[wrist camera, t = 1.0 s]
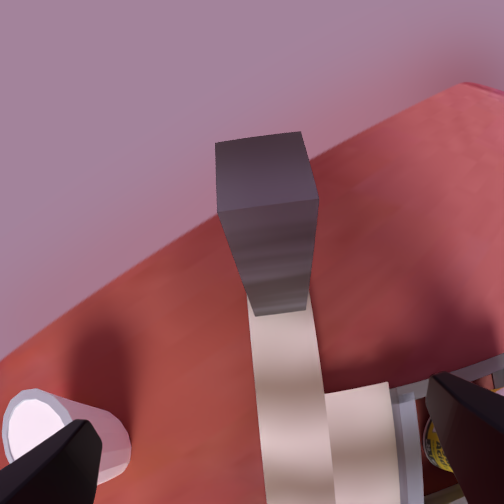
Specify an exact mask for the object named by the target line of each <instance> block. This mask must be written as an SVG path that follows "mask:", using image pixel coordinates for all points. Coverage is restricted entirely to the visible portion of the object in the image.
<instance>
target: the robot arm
mask: <svg viewBox="0 0 504 504" xmlns="http://www.w3.org/2000/svg"><path fill="white" fill-rule="evenodd" d="M426 406H427V409H428V412H429V414H430V417H431V420H432V422H433V425H434V428H435V430H436V433H437V436H438V439H439V442H440V444H441V447H442V450H443V452H444V454H445V456H446V458H447V460H448V462H449V464H450V466H451V469H452V471H453V473H454V475H455V477H456V479H457V481H458V483H459V485H460V487H461V490H462V492H463V494H464V496H465V498H466V500H467V503H468V504H504V396H502V395H500V394H498V393H495V392H493V391H490V390H488V389H486V388H483V387H481V386H479V385H476V384H474V383H472V382H469V381H467V380H465V379H463V378H460V377H458V376H456V375H453V374H451V373H449V372H446V371H441V372H439V373H436V374H433V375H431V376H430V378H429V382H428V388H427V393H426ZM101 454H102V440H101V438H100V437H99V435H98V433H97V432H96V430H95V428H94V427H93V425H92V424H91V422H90V421H89V420H86V419H75V420H73V421H72V422H70V423H69V424H67V425H66V426H65V427H63V428H62V429H60V430H59V431H57V432H56V433H55V434H53V435H52V436H50V437H49V438H47V439H46V440H44V441H43V442H42V443H40V444H39V445H37V446H36V447H34V448H33V449H31V450H30V451H28V452H27V453H25V454H24V455H22V456H21V457H19V458H18V459H16V460H15V461H14V462H12V463H11V464H9V465H8V466H6V467H5V468H3V469H1V470H0V504H93V502H94V498H95V494H96V488H97V482H98V474H99V467H100V460H101Z"/></svg>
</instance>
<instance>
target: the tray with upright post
mask: <svg viewBox="0 0 504 504" xmlns="http://www.w3.org/2000/svg"><path fill="white" fill-rule="evenodd" d="M215 155H216V189H217V213H218V216H219V219H220V221H221V224H222V227H223V230H224V233H225V235H226V238H227V241H228V244H229V247H230V249H231V252H232V255H233V258H234V260H235V263H236V266H237V269H238V272H239V274H240V277H241V280H242V283H243V285H244V288H245V291H246V294H247V304H248V315H249V326H250V337H251V347H252V358H253V369H254V379H255V390H256V400H257V411H258V421H259V431H260V441H261V451H262V461H263V471H264V481H265V490H266V500H267V504H468V503H467V500H466V498H465V496H464V494H463V492H462V490H461V487H460V485H459V483H457V484H455V485H453V486H450V487H448V488H445V489H443V490H440V491H438V492H435V493H432V494H429V495H427V496H424V491H423V472H422V458H421V447H420V437H419V427H418V419H417V411H416V404H415V400H416V399H419V398H423V397H426V393H427V388H428V382H429V379H426V380H423V381H419V382H415V383H412V384H408V385H404V386H400V387H396V388H392V389H389V385H388V382H384V383H379V384H375V385H370V386H365V387H360V388H355V389H350V390H345V391H339V392H334V393H328V394H324V388H323V380H322V373H321V366H320V359H319V352H318V345H317V338H316V331H315V325H314V318H313V312H312V306H311V300H310V294H309V283H310V276H311V268H312V260H313V252H314V243H315V234H316V225H317V216H318V206H319V196H318V192H317V188H316V184H315V181H314V177H313V173H312V170H311V166H310V162H309V159H308V155H307V152H306V148H305V145H304V141H303V138H302V134H301V132H291V133H282V134H274V135H266V136H258V137H250V138H243V139H237V140H230V141H224V142H218V143H215ZM449 373H451V374H453V375H456V376H458V377H460V378H463V379H465V380H467V381H469V382H471V381H474V380H476V379H479V378H482V377H484V376H487V375H489V374H492V373H493V379H494V385H495V389H498V388H502V387H504V353H502V354H500V355H497V356H495V357H492V358H490V359H487V360H484V361H482V362H479V363H476V364H473V365H470V366H468V367H465V368H462V369H459V370H456V371H453V372H449Z"/></svg>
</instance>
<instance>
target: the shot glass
mask: <svg viewBox="0 0 504 504" xmlns="http://www.w3.org/2000/svg"><path fill="white" fill-rule="evenodd" d="M75 419H86V420H89V421H90V422H91V424H92V425H93V427H94V428H95V430H96V432H97V433H98V435H99V437H100V438H101V440H102V454H101V460H100V467H99V474H98V482H97V485H99V484H101V483H103V482H105V481H108V480H110V479H112V478H114V477H116V476H117V475H119V474H121V473H123V472H124V470H125V469H126V467H127V465H128V464H129V462H130V457H131V448H132V447H131V443H130V439H129V435H128V432H127V431H126V429H125V428H124V426H123V425H122V423H121V421H120V420H119V419H118V418H116V417H115V416H114V415H113V414H111V413H110V412H109V411H105V410H102V409H99V408H96V407H92V406H89V405H85V404H82V403H78V402H75V401H72V400H69V399H66V398H63V397H59V396H56V395H54V394H51V393H48V392H45V391H42V390H39V389H37V388H36V389H30V390H23V391H21V392H20V393H19V394H17V395H16V396H15V397H14V398H13V399H12V400H11V401H10V403H9V405H8V407H7V409H6V412H5V414H4V418H3V428H2V438H3V443H4V449H5V454H6V457H7V459H8V461H9V463H10V464H11V463H12V462H14V461H15V460H16V459H18V458H19V457H21V456H22V455H24V454H25V453H27V452H28V451H30V450H31V449H33V448H34V447H36V446H37V445H39V444H40V443H42V442H43V441H44V440H46V439H47V438H49V437H50V436H52V435H53V434H55V433H56V432H57V431H59V430H60V429H62V428H63V427H65V426H66V425H67V424H69V423H70V422H72V421H73V420H75Z"/></svg>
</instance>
